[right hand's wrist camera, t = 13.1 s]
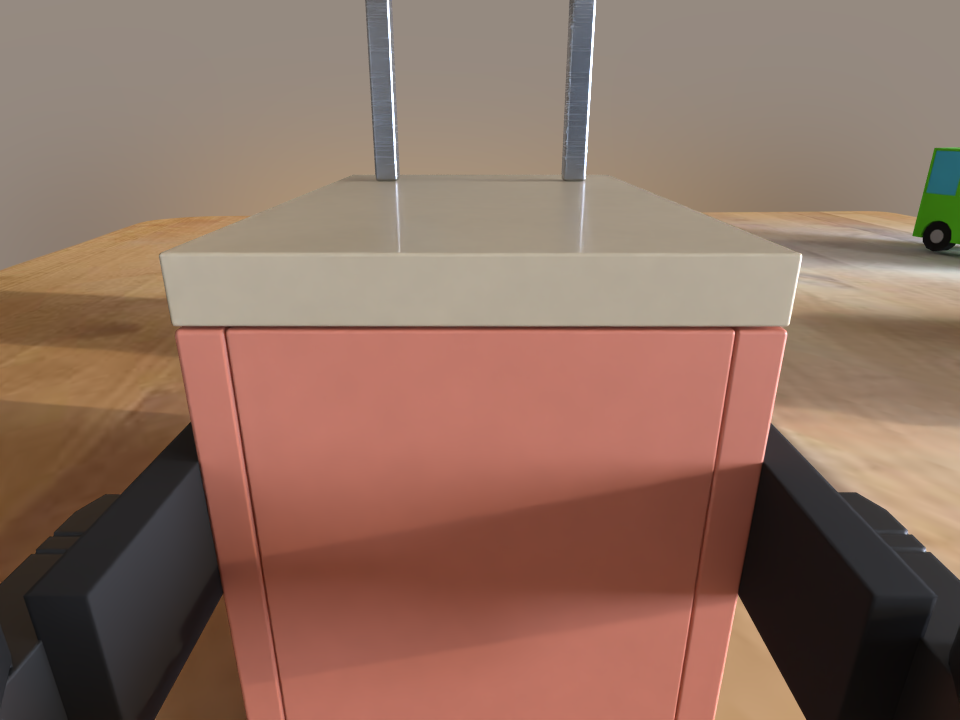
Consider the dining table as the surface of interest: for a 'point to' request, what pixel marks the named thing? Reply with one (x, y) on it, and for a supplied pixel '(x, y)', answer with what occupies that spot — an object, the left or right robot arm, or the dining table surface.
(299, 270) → the lid
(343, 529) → the chest
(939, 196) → the toy car
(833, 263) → the dining table surface
